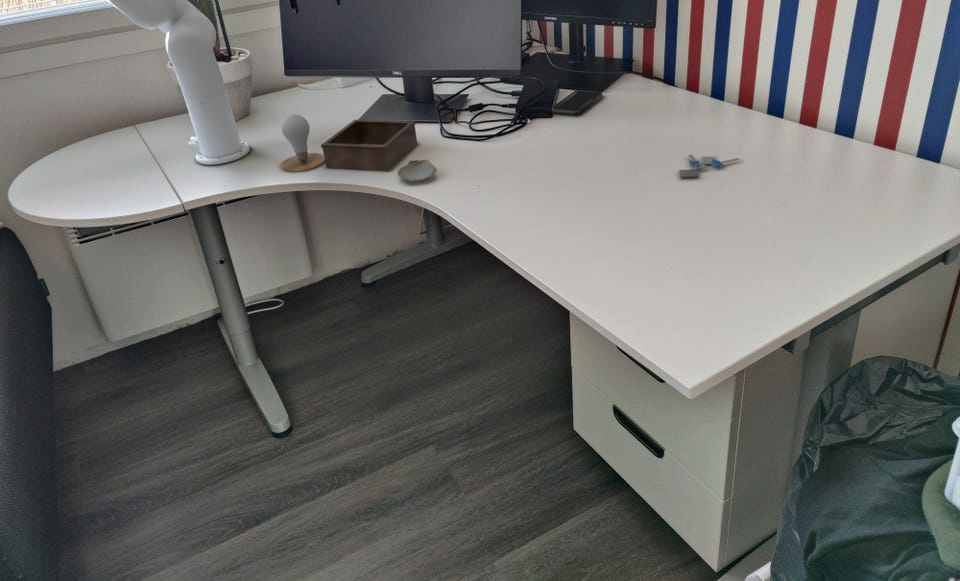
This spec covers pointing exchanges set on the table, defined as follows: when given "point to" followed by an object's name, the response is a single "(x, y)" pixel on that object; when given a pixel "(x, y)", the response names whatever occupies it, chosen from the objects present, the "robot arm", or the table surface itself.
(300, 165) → the coaster
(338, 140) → the wooden frame
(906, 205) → the table surface
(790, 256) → the table surface
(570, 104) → the phone
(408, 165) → the seashell
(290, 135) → the lightbulb
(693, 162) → the key chain
